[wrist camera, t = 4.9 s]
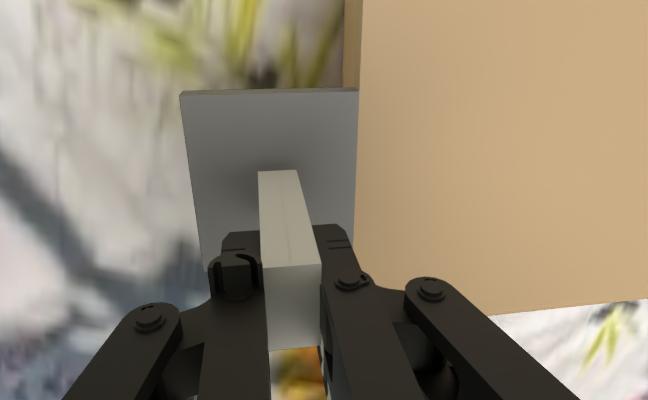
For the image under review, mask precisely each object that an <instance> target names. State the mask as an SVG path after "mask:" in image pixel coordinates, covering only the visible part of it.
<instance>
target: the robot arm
mask: <svg viewBox="0 0 648 400" xmlns="http://www.w3.org/2000/svg"><path fill="white" fill-rule="evenodd" d="M258 191H259V218H260V230H252V231H238V232H229V234H228V235H227V236H226V237H225V238H224V239H223V240H222V247H221V255H220V256H217V257H216V258H214V259H213V260H212V261H211V262H210V263H209V265H208V267H207V270H208V278H209V285H210V292H211V298H210V299H209V300H208V301H207V302H205V303H203V304H202V305H200V306H198V307H195V308H193V309H190V310H187V311H183V312H180V313H179V311H178V309H177V308H176V307H175V306H173V305H172V304H168V303H163V302H160V303H150V304H146V305H143V306H140V307H138V308H136V309H134V310H133V311H131V312H129V313H128V314H127V315H126V316H125V317H124V318H123V319H122V320H121V322H120V323H119V324H118V326H117V327H116V328H115V330H114V331H113V332H112V333H111V335H110V336H109V337H108V339H107V340H106V341H105V343H104V344H103V345H102V347H101V348H100V349H99V351H98V352H97V353H96V355H95V356H94V357H93V359H92V360H91V361H90V363H89V364H88V365H87V367H86V368H85V369H84V371H83V372H82V373H81V375H80V376H79V377H78V378H77V380H76V381H75V382H74V384H73V385H72V386H71V388H70V389H69V390H68V392H67V393H66V394H65V396H64V397H63V398H62V400H193V399H194V396H195V395H197V394H198V396H197V400H271V385H270V367H269V352H268V351H276V350H285V349H293V348H302V347H311V346H320V345H321V335H322V340H323V345H324V358H323V381H325V380H328V385H329V391H330V396H331V400H580V399H579V398H578V397H577V396H576V395H574V394H573V393H572V392H571V391H570V390H569V389H568V388H567V387H565V386H564V385H563V384H562V383H561V382H560V381H559V380H558V379H556V378H555V377H554V376H553V375H552V374H551V373H550V372H549V371H548V370H546V369H545V368H544V367H543V366H542V365H541V364H540V363H539V362H537V361H536V360H535V359H534V358H533V357H532V356H531V355H530V354H528V353H527V352H526V351H525V350H524V349H523V348H522V347H521V346H519V345H518V344H517V343H516V342H515V341H514V340H513V339H512V338H510V337H509V336H508V335H507V334H506V333H505V332H504V331H503V330H501V329H500V328H499V327H498V326H497V325H496V324H495V323H494V322H492V321H491V320H490V319H489V318H488V317H487V316H486V315H485V314H483V313H482V312H481V311H480V310H479V309H478V308H477V307H476V306H475V305H473V304H472V303H471V302H470V301H469V300H468V299H467V298H466V297H464V296H463V295H462V294H461V293H460V292H459V291H458V290H457V289H455V288H454V287H453V286H452V285H450V284H449V283H447V282H446V281H444V280H441V279H438V278H434V277H426V276H425V277H417V278H414V279H412V280H410V281H409V282H408V283H407V284H406V285H405V291H404V290H396V289H389V288H384V287H381V286H378V285H375V283H374V280H373V279H372V278H371V276H370V275H369V274H367V273H365V272H364V271H362V270H361V268H360V265H359V263H358V260H357V258H356V255H355V253H354V251H353V248H352V246H351V243H350V241H349V238H348V236H347V233H346V231H345V230H344V229H343V228H341V227H340V226H339V225H338V224H322V225H311V222H310V218H309V215H308V211H307V207H306V203H305V200H304V196H303V192H302V189H301V185H300V181H299V177H298V174H297V170H279V171H259V172H258Z"/></svg>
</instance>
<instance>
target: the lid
mask: <svg viewBox="0 0 648 400" xmlns="http://www.w3.org/2000/svg"><path fill="white" fill-rule="evenodd" d="M179 100H180V107H181V114H182V121H183V128H184V135H185V143H186V150H187V157H188V164H189V171H190V178H191V185H192V192H193V199H194V206H195V213H196V220H197V227H198V234H199V241H200V249H201V256H202V263H203V270H204V272H206V271H208V270H207V267H208V265H209V263H210V262H211V261H212V260H213V259H214V258H216V257H217V256H220V255H221V247H222V240H223V239H224V238H225V237H226V236H227V235H228V234H229V232H238V231H252V230H260V218H259V191H258V172H259V171H279V170H297V174H298V177H299V181H300V185H301V189H302V192H303V196H304V200H305V203H306V207H307V211H308V215H309V218H310V222H311V225H322V224H338V225H339V226H340V227H341V228H343V229H344V230H345V231H346V233H347V236H348V238H349V241H350V243H351V246H352V248H353V251H354V253H355V255H356V258H357V260H358V263H359V265H360V268H361V270H362V271H364V272H365V273H367V274H369V275H370V276H371V278H372V279H373V280H374V283H375V285H378V286H381V287H384V288H389V289H396V290H404V291H405V285H406V284H407V283H408V282H409V281H410V280H412V279H414V278H417V277H425V276H426V277H434V278H438V279H441V280H444V281H446V282H447V283H449V284H450V285H452V286H453V287H454V288H455V289H457V290H458V291H459V292H460V293H461V294H462V295H463V296H464V297H466V298H467V299H468V300H469V301H470V302H471V303H472V304H473V305H475V306H476V307H477V308H478V309H479V310H480V311H481V312H482V313H483V314H485V315H486V316H491V315H500V314H509V313H519V312H528V311H537V310H546V309H555V308H565V307H574V306H583V305H592V304H601V303H611V302H620V301H629V300H638V299H648V0H357V15H356V44H355V72H354V87H328V88H286V89H244V90H202V91H182V93H181V94H180V95H179Z"/></svg>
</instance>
